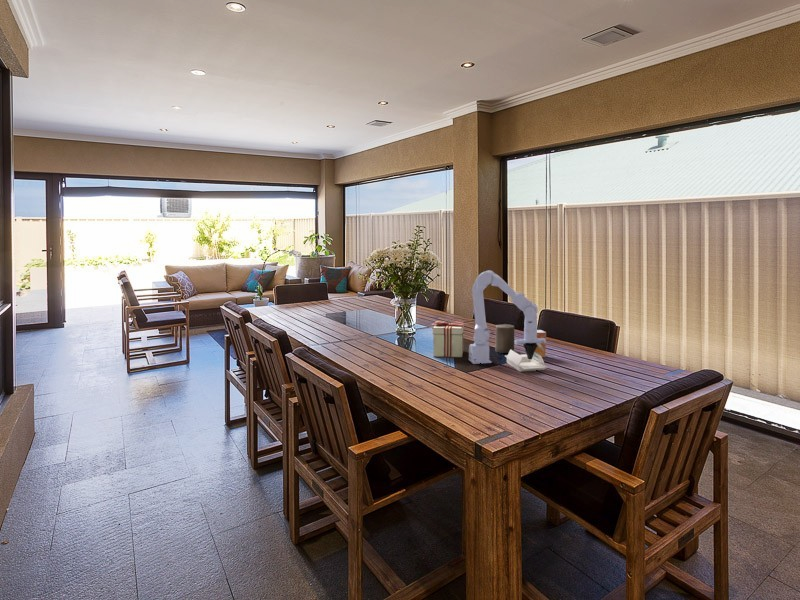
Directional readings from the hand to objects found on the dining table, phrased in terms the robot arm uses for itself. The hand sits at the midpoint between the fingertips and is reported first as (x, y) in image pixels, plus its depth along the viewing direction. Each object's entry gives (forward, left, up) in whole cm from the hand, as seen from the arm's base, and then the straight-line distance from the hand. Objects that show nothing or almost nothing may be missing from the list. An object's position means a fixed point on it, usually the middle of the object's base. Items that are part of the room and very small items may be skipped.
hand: (529, 358), depth 219 cm
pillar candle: (-1, +28, -4) cm, 28 cm away
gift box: (-31, +31, -4) cm, 44 cm away
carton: (-2, 0, -3) cm, 4 cm away
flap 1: (-7, 0, +1) cm, 7 cm away
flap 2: (+3, 0, +1) cm, 3 cm away
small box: (+10, +15, -4) cm, 18 cm away
